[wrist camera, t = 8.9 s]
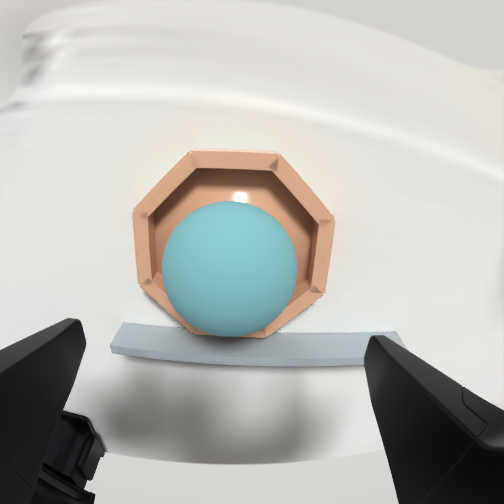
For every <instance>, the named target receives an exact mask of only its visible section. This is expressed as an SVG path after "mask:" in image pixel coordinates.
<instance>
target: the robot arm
mask: <svg viewBox="0 0 504 504" xmlns="http://www.w3.org/2000/svg"><path fill="white" fill-rule="evenodd" d="M85 348H86V339H85V335H84V331H83V327H82V323H81V321H80V320H79V319H73V318H67V319H65V320H63V321H61V322H59V323H56V324H54V325H52V326H50V327H48V328H46V329H44V330H41V331H39V332H37V333H35V334H33V335H31V336H29V337H27V338H25V339H22V340H20V341H18V342H16V343H14V344H12V345H10V346H8V347H6V348H4V349H2V350H0V504H94V500H95V494H94V493H92V492H88V491H86V490H84V488H85V485H86V482H87V480H89V481H91V480H92V479H93V476H94V473H95V471H96V468H97V465H98V462H99V460H100V457H103V456H104V454H105V453H104V451H103V449H102V447H101V445H100V443H99V441H98V438H97V436H96V434H95V432H94V430H93V428H92V426H91V424H90V421H89V420H88V419H87V418H86V417H84V416H81V415H77V414H73V413H69V412H65V411H63V409H64V406H65V404H66V401H67V399H68V397H69V394H70V392H71V390H72V387H73V385H74V382H75V379H76V376H77V372H78V369H79V366H80V363H81V360H82V357H83V354H84V351H85ZM364 366H365V371H366V377H367V382H368V387H369V393H370V398H371V403H372V407H373V410H374V414H375V417H376V420H377V424H378V427H379V431H380V434H381V438H382V441H383V445H384V448H385V452H386V456H387V459H388V463H389V466H390V470H391V474H392V478H393V482H394V486H395V490H396V494H397V498H398V502H399V504H504V410H502V409H500V408H498V407H497V406H495V405H493V404H491V403H489V402H488V401H486V400H484V399H482V398H481V397H479V396H478V395H476V394H474V393H473V392H471V391H470V390H468V389H467V388H465V387H462V385H460V384H459V383H457V382H456V381H454V380H453V379H451V378H450V377H448V376H446V375H445V374H443V373H442V372H440V371H439V370H437V369H436V368H434V367H433V366H431V365H429V364H428V363H426V362H425V361H423V360H422V359H420V358H419V357H417V356H416V355H414V354H413V353H411V352H409V351H408V350H406V349H405V348H403V347H402V346H400V345H399V344H397V343H396V342H394V341H392V340H391V339H389V338H388V337H386V336H385V335H372V336H371V337H370V339H369V342H368V345H367V349H366V352H365V355H364Z"/></svg>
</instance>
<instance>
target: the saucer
mask: <svg viewBox="0 0 504 504" xmlns="http://www.w3.org/2000/svg"><path fill="white" fill-rule="evenodd" d="M222 201H236V202H243V203H247V204H251V205H253V206H256V207H258V208H260V209H262V210H264V211H266V212H267V213H268V214H270V215H271V216H273V217H274V218H275V219H276V220H277V221H278V222H279V223H280V224H281V225H282V227H283V228H284V229H285V231H286V232H287V234H288V236H289V237H290V239H291V241H292V244H293V246H294V250H295V254H296V258H297V280H296V285H295V289H294V292H293V294H292V296H291V299H290V300H289V302H288V304H287V306H286V307H285V309H284V310H283V312H282V313H281V314H280V315H279V316H278V317H277V318H276V319H275V320H274V321H272V322H271V323H270V324H269V325H267V326H266V327H264V328H262V329H260V330H258V331H256V332H253V333H250V334H247V335H243V336H236V337H259V338H265V336H266V337H268V336H269V335H271V334H272V333H273V332H275V331H276V330H278V329H279V328H280V327H282V326H283V325H284V324H286V323H287V322H288V321H290V320H291V319H293V318H294V317H295V316H297V315H298V314H299V313H301V312H302V311H303V310H305V309H306V308H307V307H309V306H310V305H311V304H312V303H314V302H315V301H316V300H318V299H319V298H320V297H322V296H323V293H325V288H326V282H327V276H328V269H329V263H330V256H331V249H332V241H333V234H334V226H335V220H334V217H333V215H332V214H331V213H330V212H329V210H328V209H327V208H326V207H325V206H324V204H323V203H322V202H321V201H320V200H319V198H318V197H317V196H316V195H315V194H314V192H313V191H312V190H311V189H310V188H309V187H308V185H307V184H306V183H305V182H304V181H303V180H302V178H301V177H300V176H299V175H298V174H297V173H296V171H295V170H294V169H293V168H292V167H291V166H290V165H289V163H288V162H287V161H286V160H285V159H284V158H283V157H282V156H281V155H280V154H279V153H277V152H270V151H251V150H224V149H195V150H192V151H190V152H188V153H187V154H186V155H185V156H184V157H183V158H182V159H181V160H180V161H179V162H178V163H177V164H176V165H175V166H174V167H173V168H172V169H171V170H170V171H169V172H168V173H167V174H166V175H165V176H164V177H163V178H162V179H161V180H160V181H159V183H158V184H157V185H156V186H155V187H154V188H153V189H152V190H151V191H150V192H149V193H148V194H147V195H146V196H145V197H144V198H143V200H142V201H141V202H140V203H139V204H138V205H137V206H136V207H135V208H134V209H133V210H134V211H133V228H134V242H135V254H136V265H137V275H138V284H141V285H140V287H141V288H142V289H143V290H144V291H145V292H146V293H147V294H148V295H149V296H151V297H152V298H153V299H154V300H155V301H156V302H157V303H158V304H159V305H160V306H162V307H163V308H164V309H165V310H166V311H167V312H168V313H169V314H171V315H172V316H173V317H174V318H175V319H176V320H177V321H179V322H180V323H181V324H182V325H183V326H184V327H185V328H187V329H188V330H189V331H190V332H191V333H193V332H194V334H199V335H212V334H209V333H206V332H203V331H201V330H199V329H197V328H196V327H194V326H192V325H191V324H189V323H188V322H187V321H185V320H184V319H183V318H182V317H181V316H180V315H179V314H178V312H177V311H176V310H175V309H174V307H173V305H172V304H171V302H170V300H169V299H168V296H167V294H166V291H165V288H164V284H163V279H162V259H163V253H164V250H165V246H166V244H167V242H168V240H169V237H170V235H171V234H172V232H173V231H174V229H175V228H176V226H177V225H178V224H179V223H180V222H181V221H182V220H183V219H184V218H185V217H186V216H188V215H189V214H190V213H192V212H193V211H195V210H196V209H198V208H201V207H203V206H205V205H208V204H212V203H216V202H222ZM215 336H216V335H215Z"/></svg>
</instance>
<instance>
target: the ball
mask: <svg viewBox="0 0 504 504" xmlns="http://www.w3.org/2000/svg"><path fill="white" fill-rule="evenodd" d="M162 279H163V284H164V288H165V291H166V294H167V296H168V299H169V300H170V302H171V304H172V305H173V307H174V309H175V310H176V311H177V312H178V314H179V315H180V316H181V317H182V318H183V319H184V320H185V321H187V322H188V323H189V324H191V325H192V326H194V327H196V328H197V329H199V330H201V331H203V332H206V333H209V334H212V335H216V336H223V337H236V336H243V335H247V334H250V333H253V332H256V331H258V330H260V329H262V328H264V327H266V326H267V325H269V324H270V323H271V322H272V321H274V320H275V319H276V318H277V317H278V316H279V315H280V314H281V313H282V312H283V310H284V309H285V307H286V306H287V304H288V302H289V300H290V299H291V296H292V294H293V292H294V289H295V285H296V280H297V258H296V254H295V250H294V246H293V244H292V241H291V239H290V237H289V236H288V234H287V232H286V231H285V229H284V228H283V227H282V225H281V224H280V223H279V222H278V221H277V220H276V219H275V218H274V217H273V216H271V215H270V214H268V213H267V212H266V211H264V210H262V209H260V208H258V207H256V206H253V205H251V204H247V203H243V202H236V201H222V202H216V203H212V204H208V205H205V206H203V207H201V208H198V209H196V210H195V211H193V212H192V213H190V214H189V215H188V216H186V217H185V218H184V219H183V220H182V221H181V222H180V223H179V224H178V225H177V226H176V228H175V229H174V231H173V232H172V234H171V235H170V237H169V240H168V242H167V244H166V246H165V250H164V253H163V259H162Z"/></svg>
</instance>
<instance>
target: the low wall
mask: <svg viewBox="0 0 504 504" xmlns="http://www.w3.org/2000/svg"><path fill="white" fill-rule="evenodd" d="M372 335H385V336H386V337H388V338H389V339H391V340H392V341H394V342H396V343H397V344H399V345H400V346H402V347H403V348H405V349H406V350H407V348H406V347H405V345H404V344H403V342H402V340H401V339H400V337H399V336H398V334H397V332H374V333H272V334H271V335H269V336H268V337H266V336H265V338H259V337H223V336H215V335H199V334H194V332H193V333H191V332H190V331H189V330H188V329H187V328H174V327H162V326H152V325H141V324H132V323H123V324H122V326H121V327H120V329H119V331H118V332H117V334H116V336H115V338H114V339H113V341H112V343H111V345H110V347H111V351H112V353H114V354H121V355H129V356H136V357H144V358H153V359H162V360H172V361H182V362H194V363H208V364H224V365H245V366H345V365H364V355H365V352H366V349H367V345H368V342H369V339H370V337H371V336H372Z"/></svg>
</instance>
